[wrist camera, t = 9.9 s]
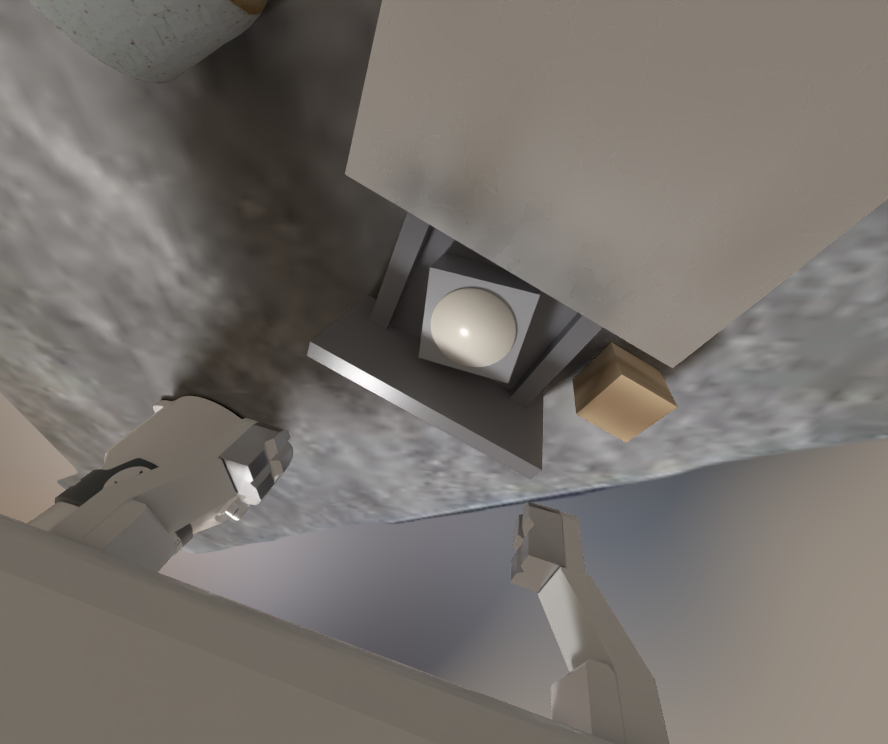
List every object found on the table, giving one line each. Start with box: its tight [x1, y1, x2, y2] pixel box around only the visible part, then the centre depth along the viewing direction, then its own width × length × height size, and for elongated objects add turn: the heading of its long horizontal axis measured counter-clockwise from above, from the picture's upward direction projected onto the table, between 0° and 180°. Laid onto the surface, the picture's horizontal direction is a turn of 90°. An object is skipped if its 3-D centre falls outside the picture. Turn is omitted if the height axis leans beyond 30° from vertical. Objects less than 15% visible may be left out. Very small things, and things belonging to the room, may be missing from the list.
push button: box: [418, 253, 540, 383], centre depth 20 cm, size 6×6×3 cm
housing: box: [345, 0, 888, 368], centre depth 12 cm, size 14×16×8 cm
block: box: [573, 342, 677, 443], centre depth 22 cm, size 4×4×4 cm
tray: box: [307, 212, 603, 479], centre depth 19 cm, size 15×16×8 cm
